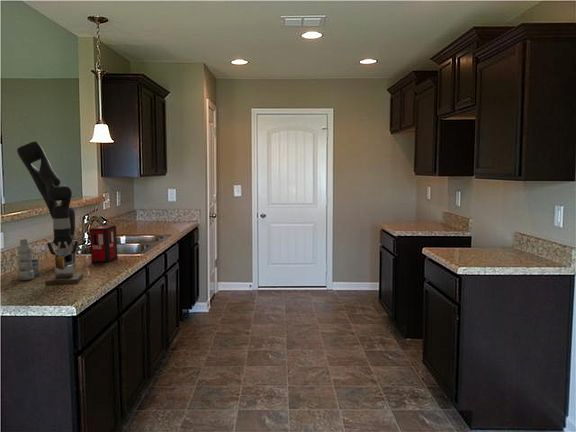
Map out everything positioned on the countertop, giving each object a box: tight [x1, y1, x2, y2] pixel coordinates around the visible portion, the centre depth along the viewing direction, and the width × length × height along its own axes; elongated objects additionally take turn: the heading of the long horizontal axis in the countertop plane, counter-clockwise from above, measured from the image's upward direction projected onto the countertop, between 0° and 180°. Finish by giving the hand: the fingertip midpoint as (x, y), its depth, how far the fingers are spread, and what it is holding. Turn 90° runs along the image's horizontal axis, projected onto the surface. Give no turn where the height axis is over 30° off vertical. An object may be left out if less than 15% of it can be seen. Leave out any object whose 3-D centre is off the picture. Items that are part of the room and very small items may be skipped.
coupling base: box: [45, 272, 84, 286], centre depth 240 cm, size 14×14×2 cm
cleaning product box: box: [89, 225, 118, 265], centre depth 290 cm, size 16×9×20 cm, turn 179°
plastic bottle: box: [17, 238, 34, 281], centre depth 242 cm, size 6×7×20 cm
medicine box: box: [17, 258, 40, 278], centre depth 250 cm, size 8×4×9 cm, turn 149°
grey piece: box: [54, 254, 75, 278], centre depth 239 cm, size 10×8×10 cm
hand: (64, 262), depth 239 cm, fingers closed on grey piece, 4 cm apart
